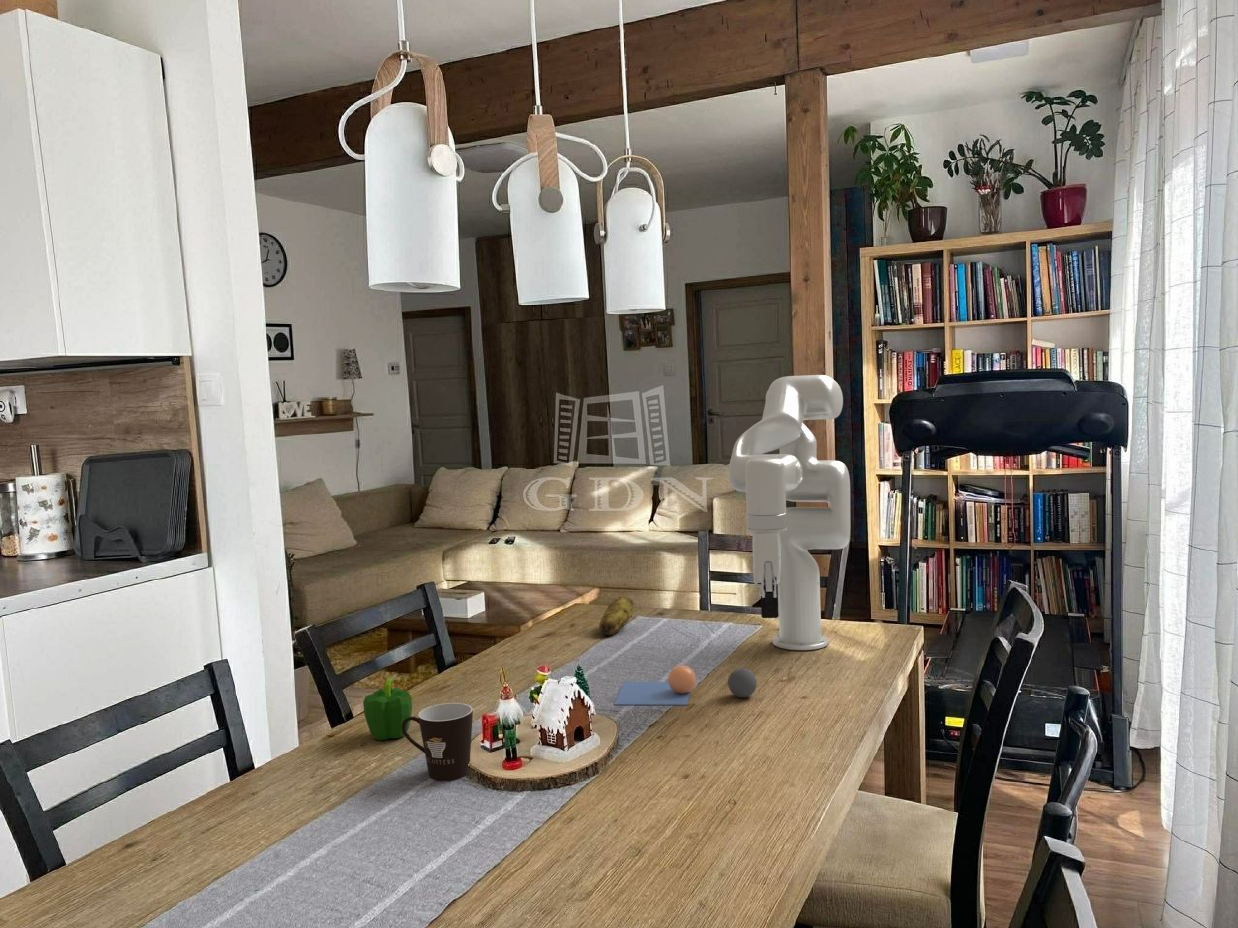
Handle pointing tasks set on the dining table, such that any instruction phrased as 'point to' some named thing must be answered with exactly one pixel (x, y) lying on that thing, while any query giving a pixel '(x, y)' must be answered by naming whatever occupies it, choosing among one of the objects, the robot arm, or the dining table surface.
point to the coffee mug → (445, 739)
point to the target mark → (650, 694)
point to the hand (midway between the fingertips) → (769, 616)
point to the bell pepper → (387, 711)
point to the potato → (616, 615)
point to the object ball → (681, 679)
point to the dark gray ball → (742, 682)
